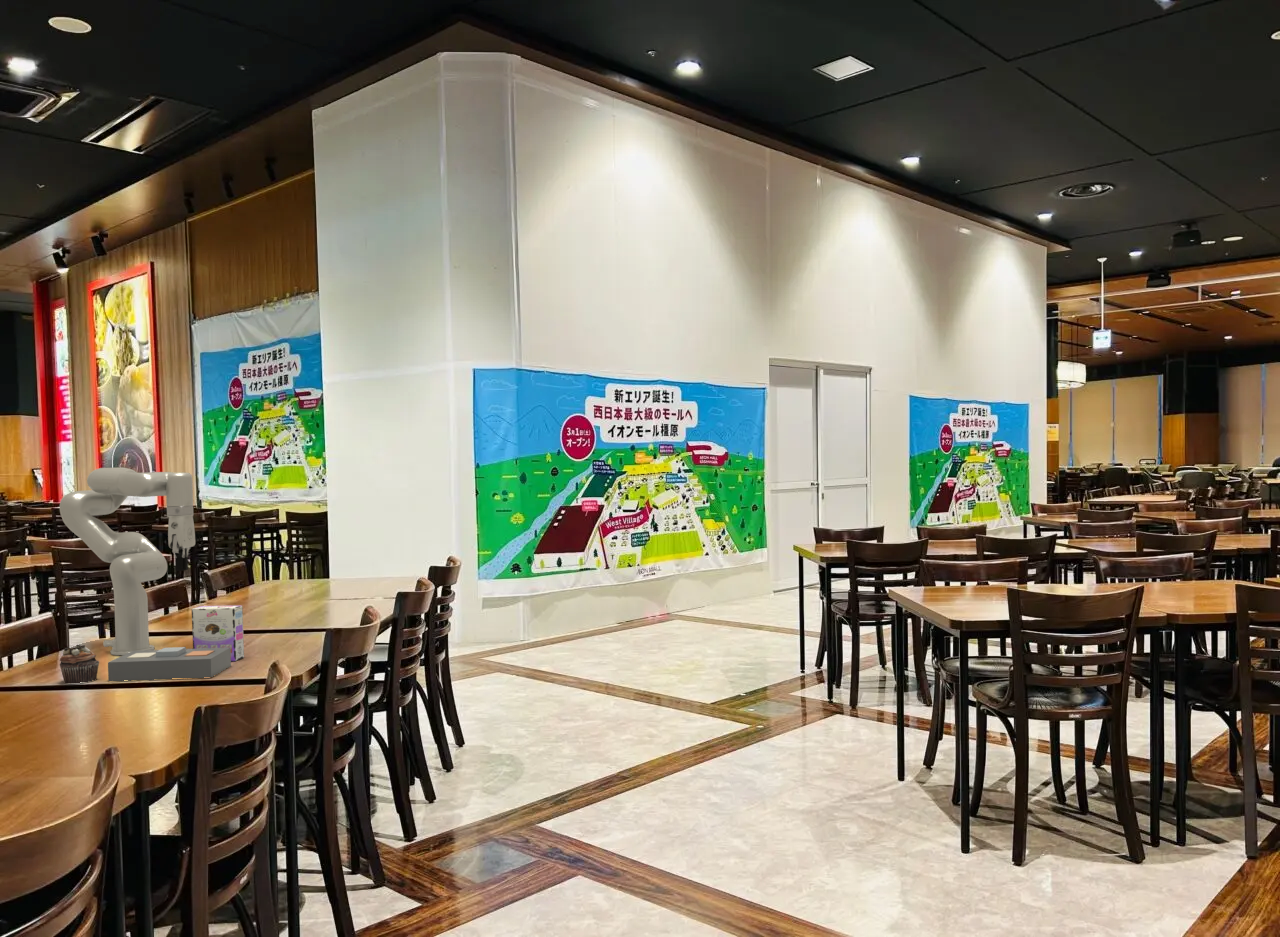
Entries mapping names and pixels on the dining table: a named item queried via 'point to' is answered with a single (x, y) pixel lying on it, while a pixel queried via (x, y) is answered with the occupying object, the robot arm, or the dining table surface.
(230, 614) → the candy box
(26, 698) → the dining table surface
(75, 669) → the cupcake
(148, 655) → the cream key
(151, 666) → the keypad
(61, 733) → the dining table surface
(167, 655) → the slate key
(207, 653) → the terracotta key
